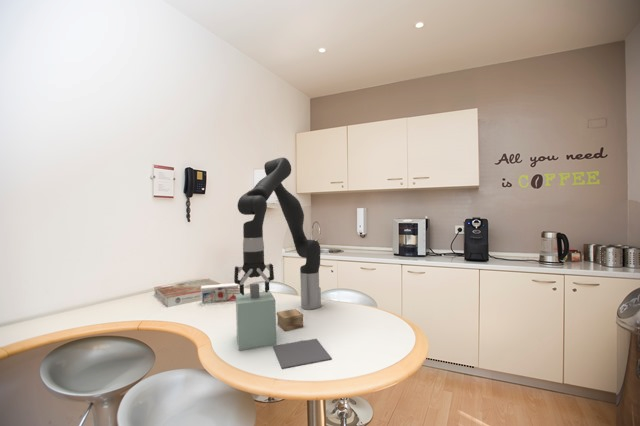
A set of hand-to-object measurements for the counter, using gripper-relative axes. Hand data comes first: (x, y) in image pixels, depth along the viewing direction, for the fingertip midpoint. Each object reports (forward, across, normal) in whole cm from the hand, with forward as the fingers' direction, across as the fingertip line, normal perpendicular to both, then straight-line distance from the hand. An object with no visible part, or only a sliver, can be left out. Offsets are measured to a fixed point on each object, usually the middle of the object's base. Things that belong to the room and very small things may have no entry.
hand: (254, 293), depth 111 cm
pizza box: (+18, +29, -79) cm, 86 cm away
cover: (+17, 0, 0) cm, 17 cm away
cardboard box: (+17, -15, -9) cm, 25 cm away
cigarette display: (+18, +12, -55) cm, 59 cm away
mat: (+17, -13, +16) cm, 27 cm away
